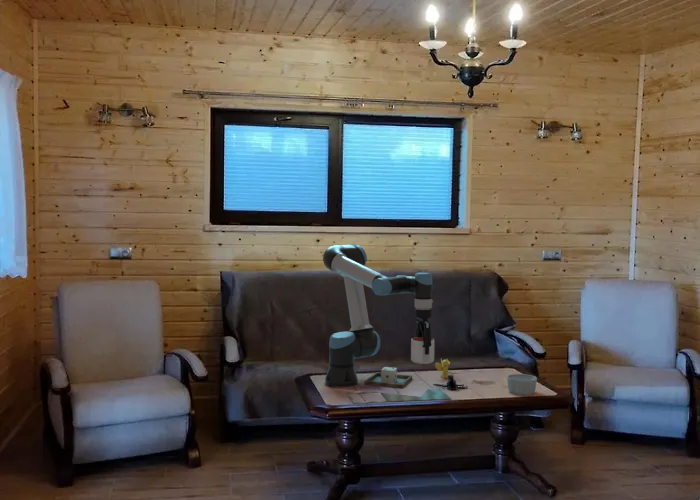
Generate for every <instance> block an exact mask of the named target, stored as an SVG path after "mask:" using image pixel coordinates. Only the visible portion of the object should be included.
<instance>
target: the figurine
mask: <svg viewBox="0 0 700 500" xmlns="http://www.w3.org/2000/svg"><path fill="white" fill-rule="evenodd" d="M440 362H441V363H439V362H434V363H435V369H436V370H437V371H439V372H441V375H440V378H441V379H448V376H449V375H450V374H451V375H460V373H457V372H451V371H449V366H451V362H450V360H448V358H447V359H443V360H442V358H440Z"/></svg>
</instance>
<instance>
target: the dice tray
mask: <svg viewBox="0 0 700 500" xmlns="http://www.w3.org/2000/svg"><path fill="white" fill-rule="evenodd" d="M412 380H413V375H411V374H410V375H409V374H398V373H397V381H396V382H395V383H385V382H381V372H377V371H376V372H375V373H373V374H372V375H371V376H369V377H368V378H367V379H366V380H365V381H364V385H367V386H368V385H369V386H376V387H377V386H378V387H387V388H395V389H396V388H399V389H404V387H406V386H407V385H408V384H409V383H410V382H411V381H412Z"/></svg>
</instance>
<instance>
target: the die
mask: <svg viewBox="0 0 700 500" xmlns="http://www.w3.org/2000/svg"><path fill="white" fill-rule="evenodd" d="M380 373H381V382H385V383H395V382H396V381H397V374H398V367H390V366H384V367H382V369H381V370H380Z"/></svg>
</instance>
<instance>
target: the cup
mask: <svg viewBox="0 0 700 500" xmlns="http://www.w3.org/2000/svg"><path fill="white" fill-rule="evenodd" d="M423 345H424V343H423V337H416V338H415V337H413V338H411V341H410V360H411V362H412V363H415V364H419V365H423V364H424V365H427V364H432V363H433V362H434V361H435V339H434V338H432V337H431V346H430V361H429V362H423V347H422V346H423Z"/></svg>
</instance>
